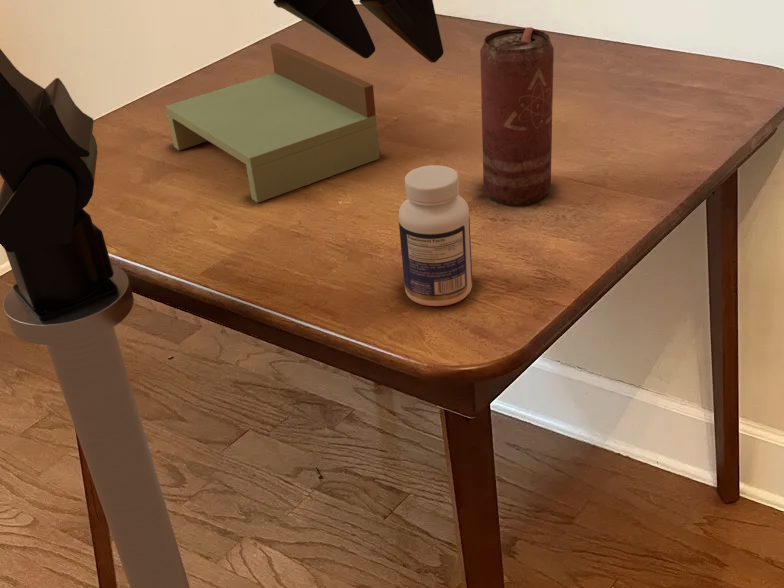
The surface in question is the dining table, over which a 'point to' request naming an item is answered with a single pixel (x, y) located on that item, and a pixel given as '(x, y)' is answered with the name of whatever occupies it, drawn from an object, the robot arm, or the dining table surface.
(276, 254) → the dining table surface
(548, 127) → the can
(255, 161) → the shelf
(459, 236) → the pill bottle
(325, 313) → the dining table surface
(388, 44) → the dining table surface
